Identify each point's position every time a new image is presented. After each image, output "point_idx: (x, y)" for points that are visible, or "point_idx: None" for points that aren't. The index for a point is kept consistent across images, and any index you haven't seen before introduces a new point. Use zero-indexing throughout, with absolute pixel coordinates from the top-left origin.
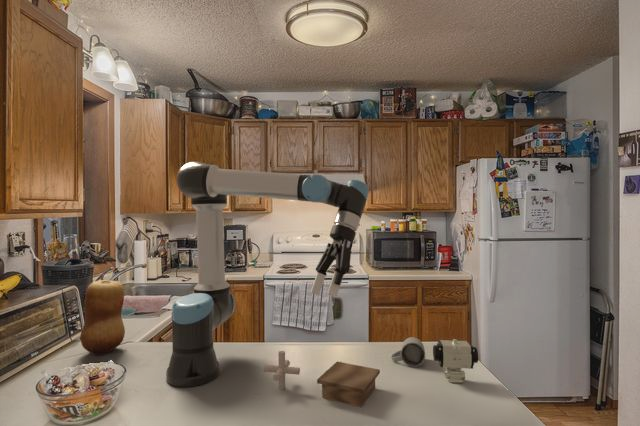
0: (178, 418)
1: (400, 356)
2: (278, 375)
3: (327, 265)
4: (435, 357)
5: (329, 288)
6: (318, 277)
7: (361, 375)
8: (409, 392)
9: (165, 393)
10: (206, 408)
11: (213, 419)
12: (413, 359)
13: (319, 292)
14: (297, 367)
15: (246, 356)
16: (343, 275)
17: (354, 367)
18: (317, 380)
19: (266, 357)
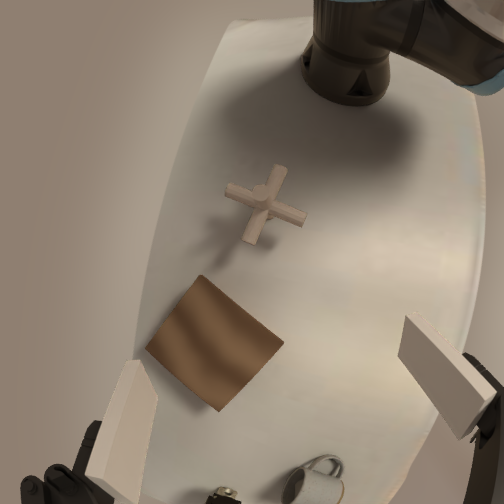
0: (210, 74)
1: (310, 469)
2: (226, 192)
3: (473, 494)
4: (214, 498)
5: (122, 383)
6: (460, 389)
7: (199, 369)
8: (201, 429)
9: (286, 48)
10: (226, 98)
11: (193, 112)
12: (299, 482)
13: (406, 363)
14: (251, 238)
15: (426, 158)
16: (121, 501)
17: (240, 371)
18: (200, 275)
19: (419, 197)
